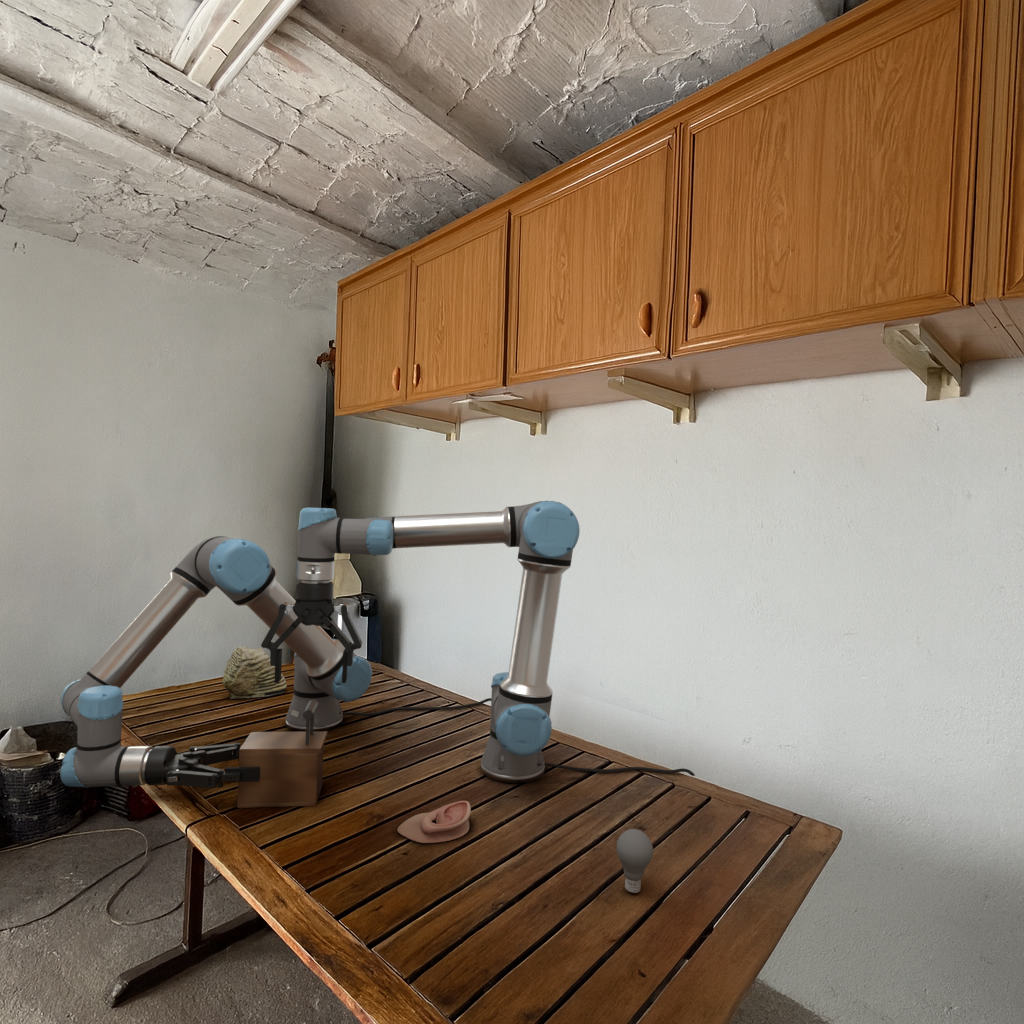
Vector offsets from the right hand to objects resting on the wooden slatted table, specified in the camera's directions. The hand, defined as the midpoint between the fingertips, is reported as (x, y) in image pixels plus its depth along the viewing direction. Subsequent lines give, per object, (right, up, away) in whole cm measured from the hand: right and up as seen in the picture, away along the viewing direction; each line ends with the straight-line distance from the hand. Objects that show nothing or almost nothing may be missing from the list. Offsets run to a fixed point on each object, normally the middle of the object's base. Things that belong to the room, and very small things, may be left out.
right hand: (311, 681), depth 134 cm
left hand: (-9, -17, -1) cm, 19 cm away
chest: (-6, -24, 0) cm, 25 cm away
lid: (-5, -13, -1) cm, 14 cm away
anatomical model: (+27, -26, -11) cm, 39 cm away
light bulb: (+63, -28, -28) cm, 74 cm away
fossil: (-38, -22, +64) cm, 78 cm away
